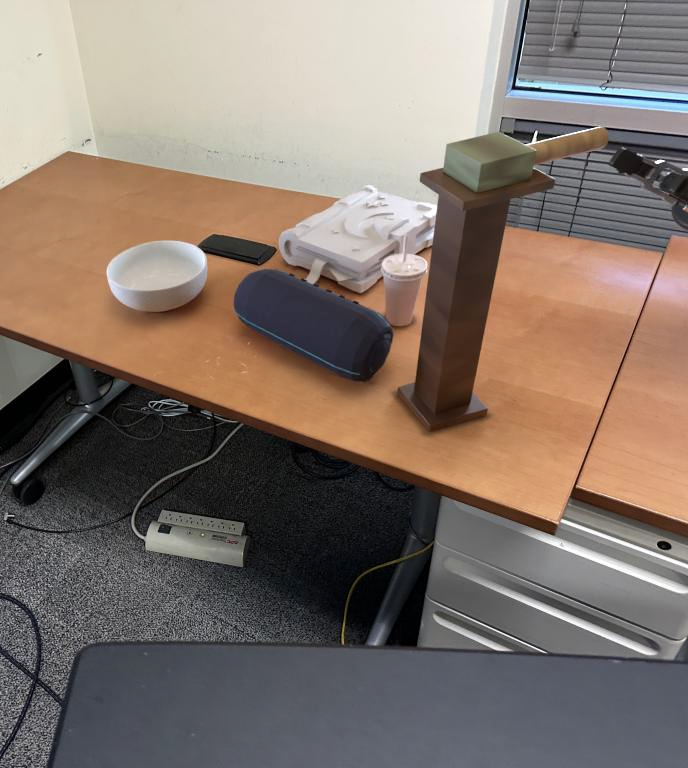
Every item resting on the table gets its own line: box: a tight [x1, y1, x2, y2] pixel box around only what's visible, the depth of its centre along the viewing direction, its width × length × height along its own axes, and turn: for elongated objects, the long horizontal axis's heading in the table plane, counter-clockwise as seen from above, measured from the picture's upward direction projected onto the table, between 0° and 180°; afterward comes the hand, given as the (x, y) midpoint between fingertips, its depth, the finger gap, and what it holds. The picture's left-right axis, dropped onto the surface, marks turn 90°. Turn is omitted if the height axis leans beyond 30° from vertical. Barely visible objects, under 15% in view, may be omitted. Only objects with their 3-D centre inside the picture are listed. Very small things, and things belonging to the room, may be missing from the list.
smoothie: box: [381, 234, 428, 327], centre depth 100 cm, size 6×6×14 cm
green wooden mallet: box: [442, 126, 610, 193], centre depth 70 cm, size 16×6×3 cm, turn 105°
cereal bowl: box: [106, 239, 208, 313], centre depth 115 cm, size 17×17×7 cm
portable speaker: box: [232, 268, 394, 383], centre depth 98 cm, size 25×10×10 cm, turn 40°
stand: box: [396, 166, 556, 433], centre depth 80 cm, size 10×8×31 cm
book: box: [278, 184, 437, 294], centre depth 118 cm, size 19×28×8 cm
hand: (644, 169), depth 75 cm, fingers open, 8 cm apart
